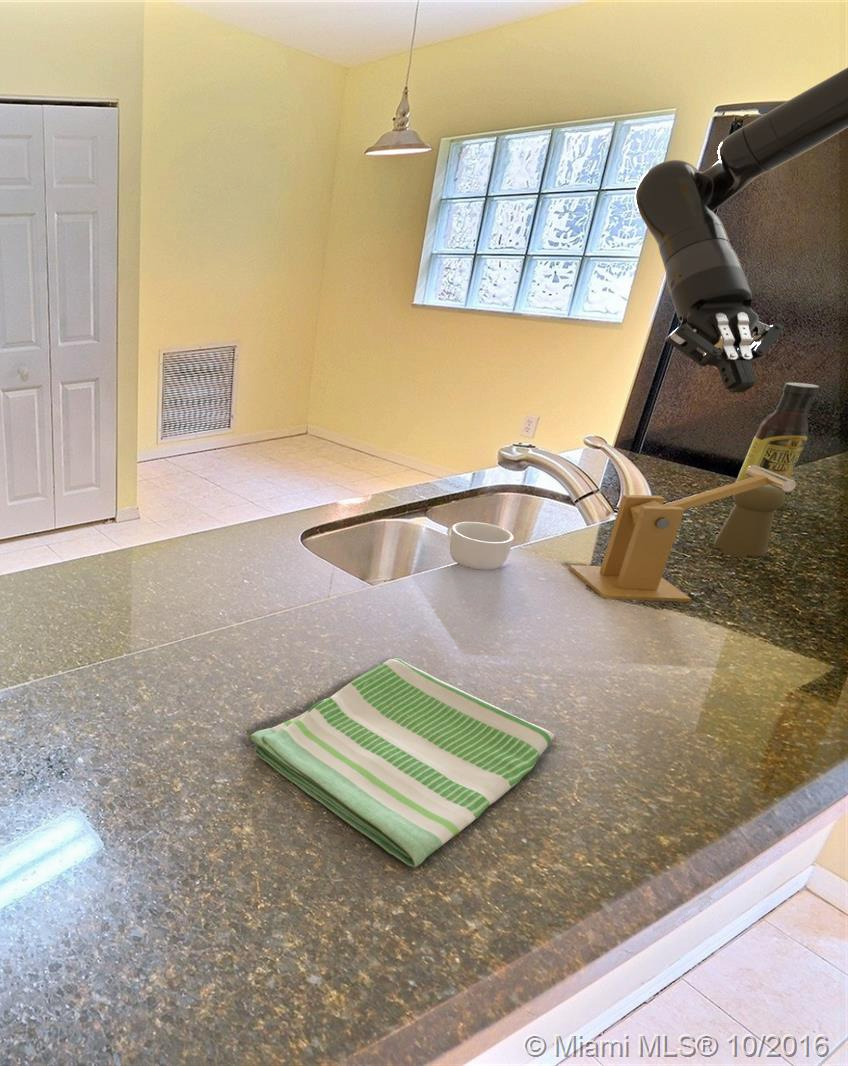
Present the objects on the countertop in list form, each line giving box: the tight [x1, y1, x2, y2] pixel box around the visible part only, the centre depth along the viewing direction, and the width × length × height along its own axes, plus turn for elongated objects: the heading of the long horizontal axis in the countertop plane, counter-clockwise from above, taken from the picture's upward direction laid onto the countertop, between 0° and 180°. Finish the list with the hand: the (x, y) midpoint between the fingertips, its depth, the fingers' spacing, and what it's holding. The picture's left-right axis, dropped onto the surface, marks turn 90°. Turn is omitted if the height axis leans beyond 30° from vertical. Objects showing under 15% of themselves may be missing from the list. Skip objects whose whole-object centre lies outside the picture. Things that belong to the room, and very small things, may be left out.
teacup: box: [446, 521, 515, 571], centre depth 103 cm, size 10×8×5 cm
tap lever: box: [630, 465, 797, 524], centre depth 89 cm, size 15×6×2 cm, turn 80°
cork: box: [712, 485, 786, 560], centre depth 101 cm, size 6×6×11 cm
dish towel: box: [249, 657, 555, 868], centre depth 67 cm, size 18×23×3 cm
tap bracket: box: [568, 494, 692, 603], centre depth 93 cm, size 10×9×13 cm
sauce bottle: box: [735, 382, 820, 485], centre depth 120 cm, size 7×6×20 cm
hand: (742, 389), depth 91 cm, fingers closed
